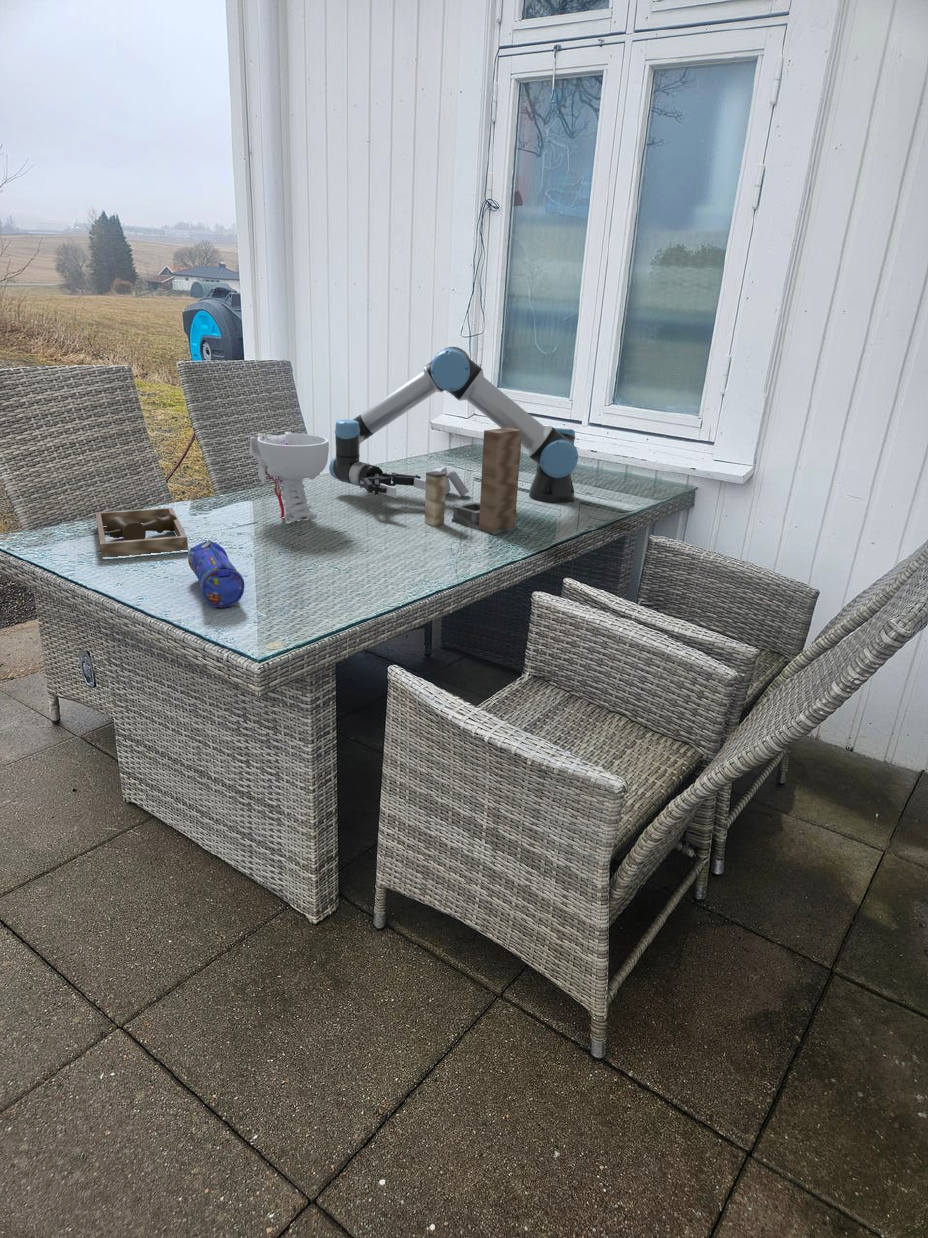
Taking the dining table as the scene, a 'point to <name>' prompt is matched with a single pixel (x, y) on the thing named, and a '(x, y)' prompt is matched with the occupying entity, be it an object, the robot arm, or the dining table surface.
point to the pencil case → (216, 574)
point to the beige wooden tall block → (435, 498)
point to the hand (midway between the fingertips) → (412, 489)
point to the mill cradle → (143, 544)
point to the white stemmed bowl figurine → (290, 467)
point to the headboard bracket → (495, 484)
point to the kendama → (138, 527)
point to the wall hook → (453, 481)
